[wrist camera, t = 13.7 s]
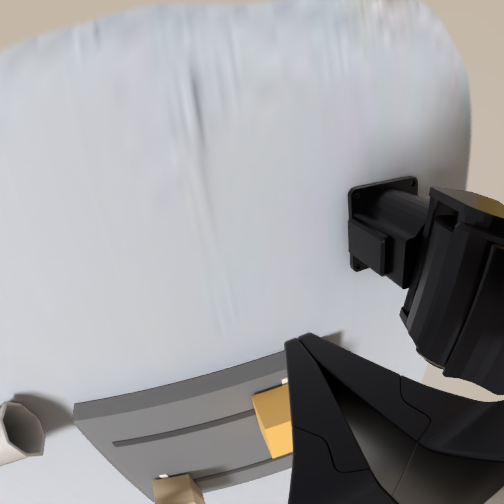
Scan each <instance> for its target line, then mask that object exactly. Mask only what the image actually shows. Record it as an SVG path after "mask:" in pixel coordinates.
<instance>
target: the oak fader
mask: <svg viewBox="0 0 504 504" xmlns="http://www.w3.org/2000/svg"><path fill="white" fill-rule="evenodd" d="M152 485H153V492H154V498H155V504H205V502H204V498H203V494H202V490H201V489H200V488H199V487H198V486H197V484H196V483H195V482H194V481H193V479H192V478H191V477H190V476H189V474H186V475H181V476H176V477H170V478H165V479H159V480H153V481H152Z"/></svg>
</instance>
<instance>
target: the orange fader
mask: <svg viewBox="0 0 504 504" xmlns="http://www.w3.org/2000/svg"><path fill="white" fill-rule="evenodd" d="M251 397H252V401H253V405H254V409H255V412H256V416H257V419H258V423H259V427H260V430H261V432H262V435H263V437H264V439H265V442H266V444H267V447H268V449H269V451H270V454H271V456H272V458H276V457H279V456H282V455H285V454H287V453H290V452H293V443H292V426H291V414H290V402H289V391H288V384H286V385H283V386H281V387H278V388H275V389H272V390H269V391H266V392H263V393H260V394H257V395H254V396H251Z"/></svg>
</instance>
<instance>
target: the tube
mask: <svg viewBox="0 0 504 504" xmlns="http://www.w3.org/2000/svg"><path fill="white" fill-rule="evenodd" d="M44 444H45V434H44V432H43V429H42V426H41V423H40V420H39V418H38V417H36V416H35V415H34V414H32V413H31V412H30V411H29V410H27V409H26V408H25V407H24V406H23V405H21V404H20V403H13V402H4V403H3V404H2V407H1V408H0V466H2V465H6V464H9V463H12V462H15V461H18V460H21V459H24V458H27V457H33V456H41V455H43V451H44Z"/></svg>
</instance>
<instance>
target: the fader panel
mask: <svg viewBox="0 0 504 504" xmlns="http://www.w3.org/2000/svg"><path fill="white" fill-rule="evenodd" d="M286 384H288V379H287V368H286V358H285V351H282V352H279V353H276V354H273V355H270V356H267V357H264V358H261V359H258V360H255V361H251V362H248V363H245V364H242V365H238V366H235V367H232V368H228V369H225V370H222V371H218V372H215V373H211V374H207V375H204V376H200V377H197V378H193V379H189V380H185V381H181V382H177V383H173V384H169V385H165V386H161V387H157V388H153V389H148V390H144V391H139V392H135V393H130V394H126V395H121V396H116V397H111V398H105V399H100V400H95V401H89V402H83V403H77V404H74V410H73V418H72V422H73V423H74V424H75V425H76V427H77V428H78V429H79V430H80V431H81V432H82V433H83V435H84V436H85V437H86V438H87V439H88V440H89V441H90V442H91V443H92V445H93V446H94V447H95V448H96V449H97V450H98V451H99V452H100V453H101V454H102V455H103V456H104V457H105V458H106V459H107V460H108V461H109V462H110V463H111V464H112V465H113V466H114V467H115V468H116V469H117V470H118V471H119V472H120V473H121V474H122V475H123V476H124V477H125V478H126V479H127V480H129V481H130V482H131V483H132V484H133V485H134V486H135V487H136V488H137V489H139V490H140V491H141V492H142V493H143V494H144V495H145V496H147V497H148V498H149V499H150V500H151V501H153V502H155V498H154V492H153V485H152V481H153V480H159V479H165V478H170V477H176V476H181V475H186V474H189V476H190V477H191V478H192V479H193V481H194V482H195V483H196V484H197V486H198V487H199V488H200V489H201V490H202V493H206V492H210V491H214V490H219V489H223V488H227V487H231V486H234V485H238V484H242V483H245V482H249V481H252V480H255V479H259V478H262V477H265V476H268V475H271V474H274V473H277V472H280V471H283V470H286V469H289V468H291V467H292V460H293V452H290V453H287V454H285V455H282V456H279V457H276V458H272V456H271V454H270V451H269V449H268V447H267V444H266V442H265V439H264V437H263V435H262V432H261V430H260V427H259V423H258V419H257V416H256V412H255V409H254V405H253V401H252V397H251V396H254V395H257V394H260V393H263V392H266V391H269V390H272V389H275V388H278V387H281V386H283V385H286Z"/></svg>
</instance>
